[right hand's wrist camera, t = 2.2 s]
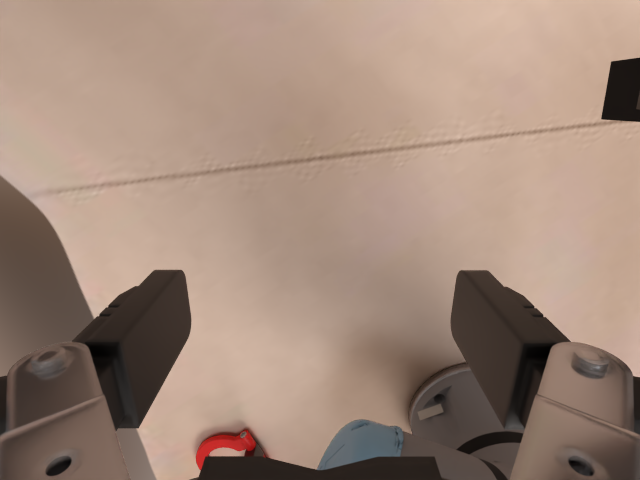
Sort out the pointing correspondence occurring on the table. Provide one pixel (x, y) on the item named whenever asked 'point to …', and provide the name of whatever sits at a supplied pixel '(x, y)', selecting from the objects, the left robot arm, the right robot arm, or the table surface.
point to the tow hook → (229, 446)
